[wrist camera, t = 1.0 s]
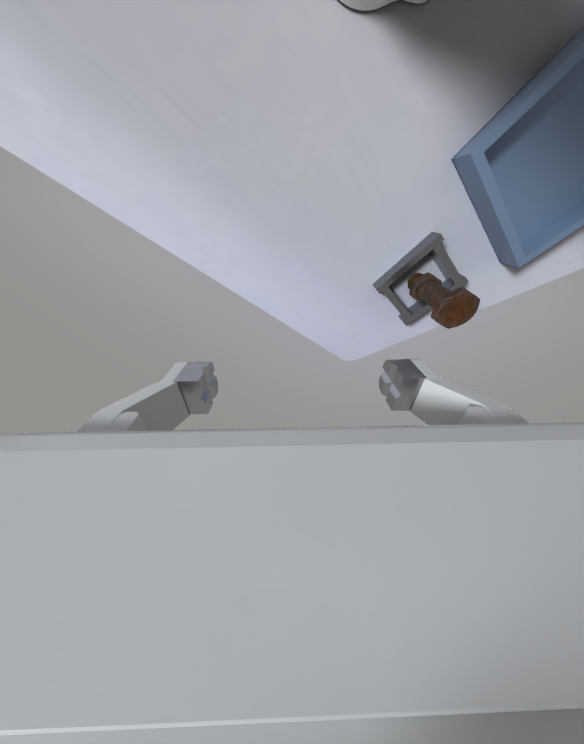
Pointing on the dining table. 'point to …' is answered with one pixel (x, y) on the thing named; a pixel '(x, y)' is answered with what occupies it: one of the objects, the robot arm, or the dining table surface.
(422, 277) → the bolt
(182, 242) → the dining table surface
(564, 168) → the tray
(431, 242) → the bracket
